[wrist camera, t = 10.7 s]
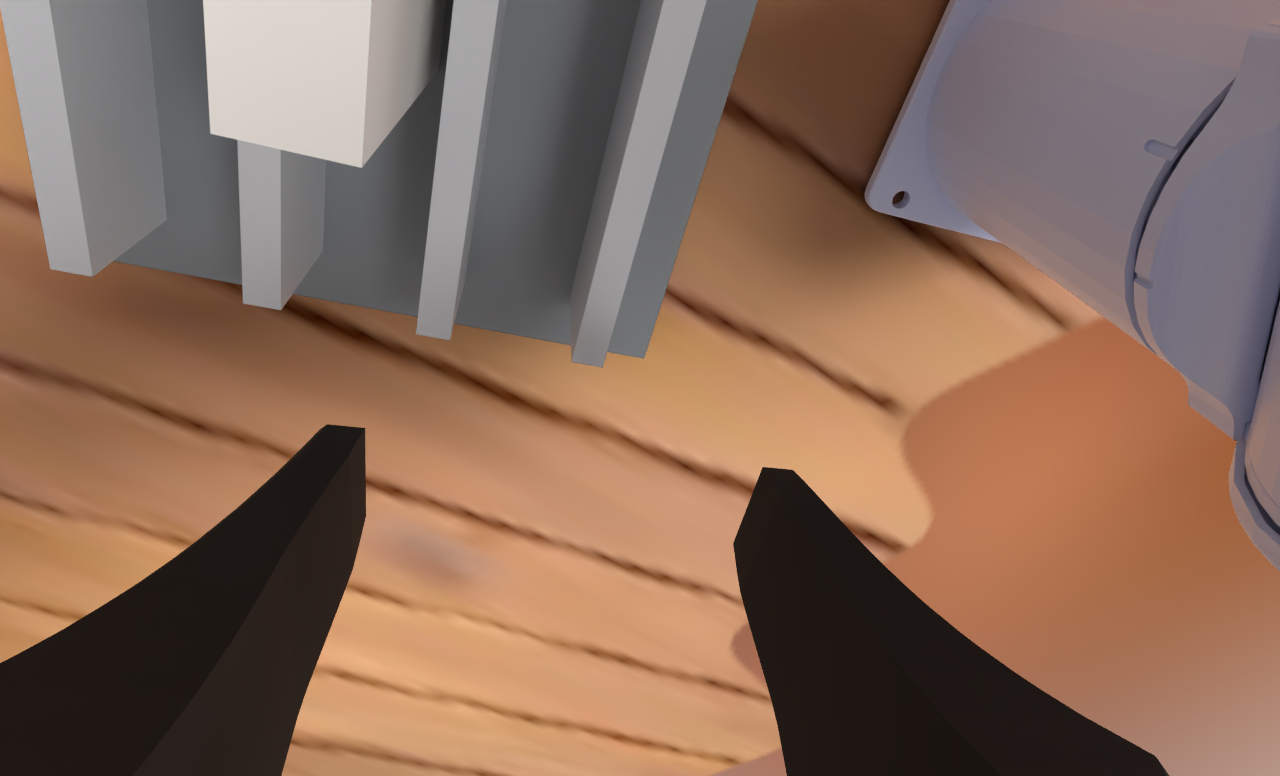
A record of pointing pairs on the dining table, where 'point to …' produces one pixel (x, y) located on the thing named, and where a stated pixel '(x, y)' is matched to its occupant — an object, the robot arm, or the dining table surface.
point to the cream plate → (318, 71)
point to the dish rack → (395, 164)
